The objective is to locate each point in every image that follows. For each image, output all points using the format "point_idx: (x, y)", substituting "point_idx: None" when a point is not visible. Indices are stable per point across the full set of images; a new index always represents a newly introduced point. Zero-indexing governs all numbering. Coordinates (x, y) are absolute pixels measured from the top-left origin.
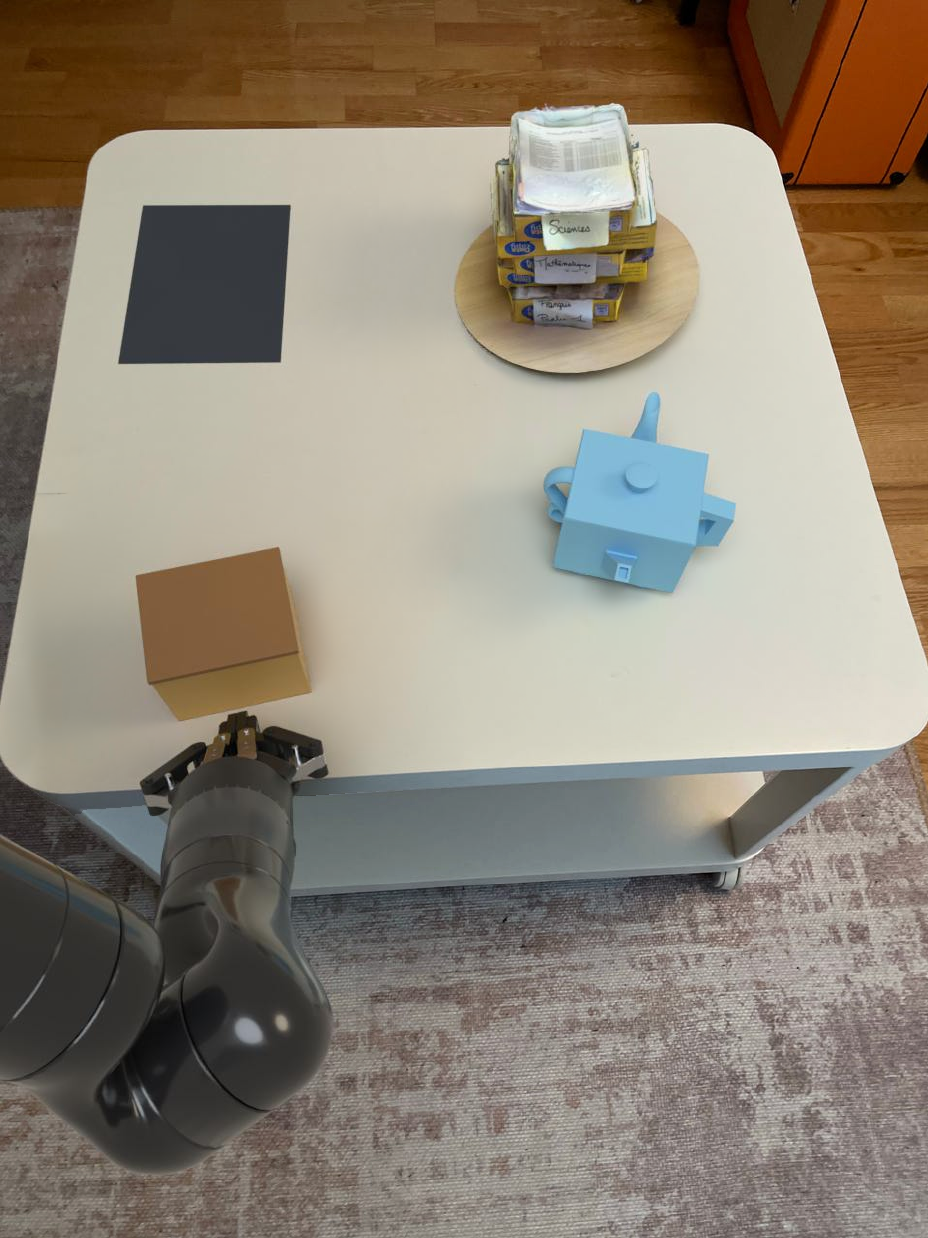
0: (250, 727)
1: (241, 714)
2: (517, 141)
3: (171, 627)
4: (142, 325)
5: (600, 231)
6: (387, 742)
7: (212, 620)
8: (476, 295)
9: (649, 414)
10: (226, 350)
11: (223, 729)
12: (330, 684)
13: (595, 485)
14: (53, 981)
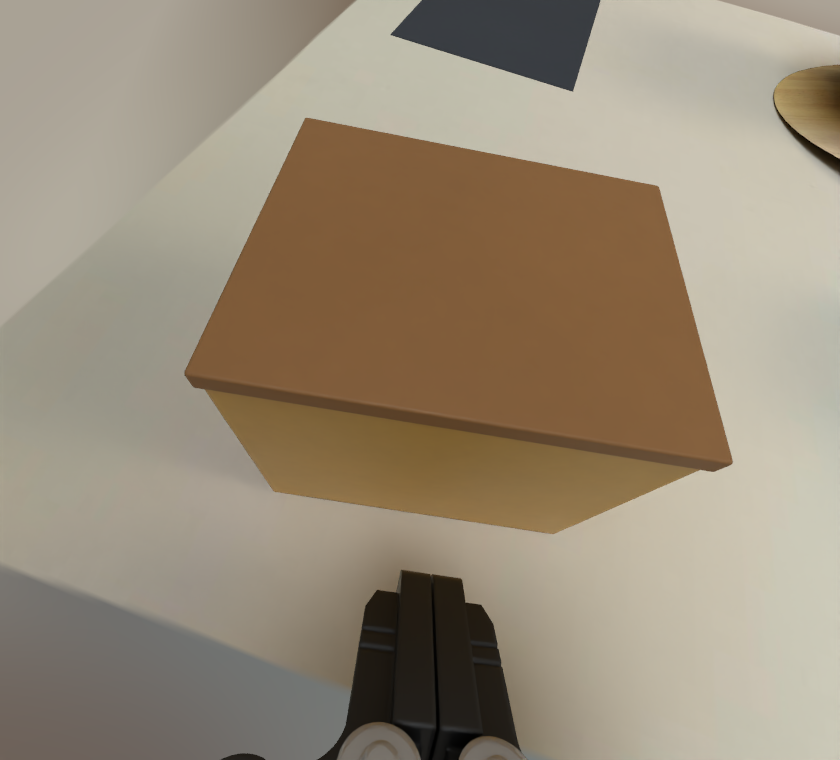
0: (486, 696)
1: (448, 596)
2: None
3: (341, 247)
4: (429, 19)
5: None
6: (716, 739)
7: (464, 273)
8: (804, 110)
9: None
10: (513, 63)
11: (378, 646)
12: (594, 531)
13: None
14: None
